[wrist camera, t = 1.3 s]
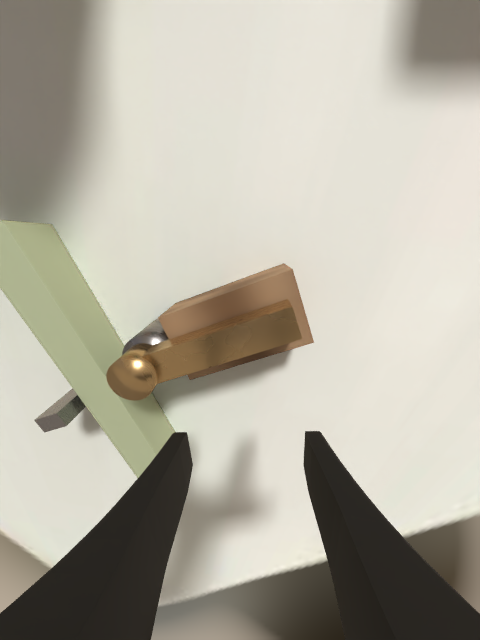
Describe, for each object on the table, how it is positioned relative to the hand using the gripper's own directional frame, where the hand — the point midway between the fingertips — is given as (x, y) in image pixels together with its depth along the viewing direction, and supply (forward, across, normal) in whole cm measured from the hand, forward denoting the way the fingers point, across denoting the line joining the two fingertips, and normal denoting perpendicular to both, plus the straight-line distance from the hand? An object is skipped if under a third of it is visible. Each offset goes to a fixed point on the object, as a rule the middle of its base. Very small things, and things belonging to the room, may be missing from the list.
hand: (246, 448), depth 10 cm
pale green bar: (+9, +12, 0) cm, 15 cm away
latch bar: (+5, +3, -3) cm, 7 cm away
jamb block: (+9, +1, -4) cm, 10 cm away
